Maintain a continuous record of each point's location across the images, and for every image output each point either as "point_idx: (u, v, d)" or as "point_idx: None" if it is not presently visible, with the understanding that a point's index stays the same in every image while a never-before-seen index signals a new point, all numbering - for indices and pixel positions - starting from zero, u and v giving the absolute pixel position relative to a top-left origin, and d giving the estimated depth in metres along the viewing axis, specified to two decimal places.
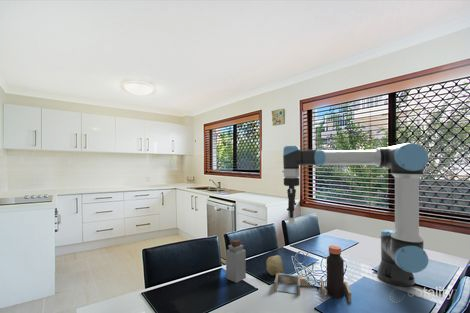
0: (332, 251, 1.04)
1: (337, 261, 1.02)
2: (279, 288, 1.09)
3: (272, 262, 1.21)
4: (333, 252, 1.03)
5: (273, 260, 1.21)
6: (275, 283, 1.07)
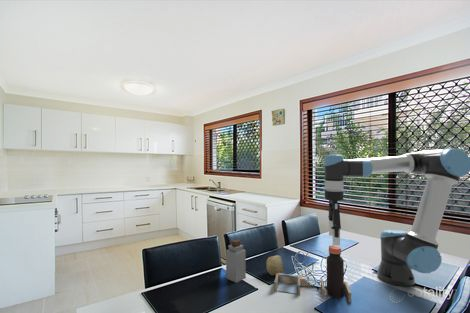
0: (332, 251, 1.04)
1: (337, 261, 1.02)
2: (279, 288, 1.09)
3: (272, 262, 1.21)
4: (333, 252, 1.03)
5: (273, 260, 1.21)
6: (275, 283, 1.07)
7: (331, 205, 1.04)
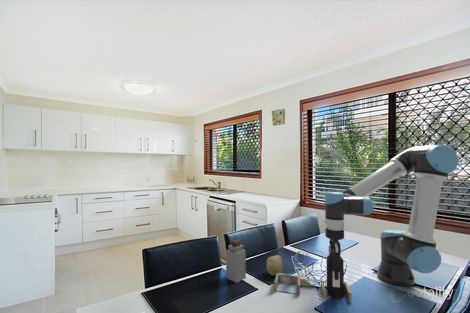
0: None
1: None
2: (279, 288, 1.09)
3: (272, 262, 1.21)
4: None
5: (273, 260, 1.21)
6: (275, 283, 1.07)
7: (332, 244, 1.04)
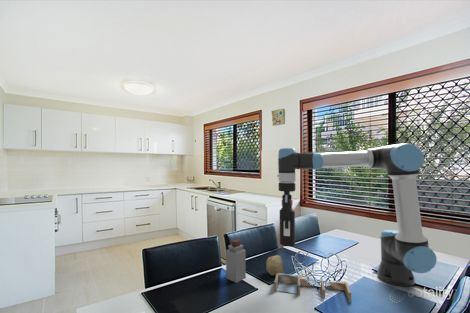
0: None
1: None
2: (279, 288, 1.09)
3: (272, 262, 1.21)
4: None
5: (273, 260, 1.21)
6: (275, 283, 1.07)
7: (283, 197, 1.10)
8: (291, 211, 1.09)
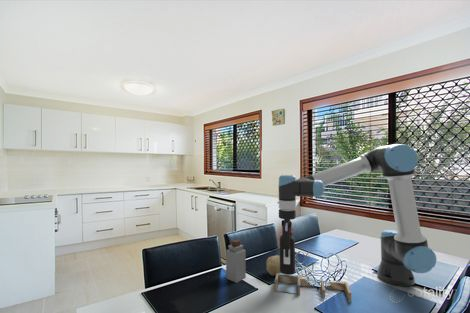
0: None
1: None
2: (279, 288, 1.09)
3: (272, 262, 1.21)
4: None
5: (273, 260, 1.21)
6: (275, 283, 1.07)
7: None
8: (291, 239, 1.08)
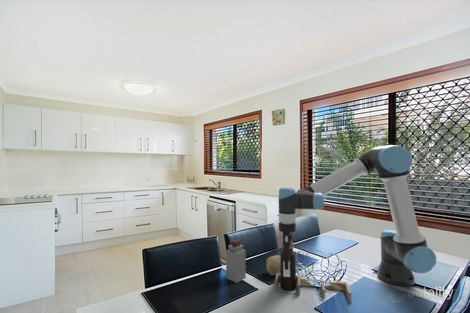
0: None
1: None
2: (279, 288, 1.09)
3: (272, 262, 1.21)
4: None
5: (273, 260, 1.21)
6: (275, 283, 1.07)
7: (284, 237, 1.09)
8: (292, 255, 1.08)
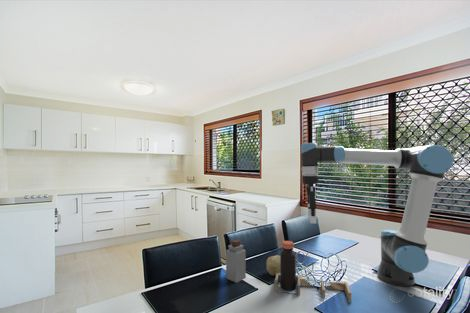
0: (284, 246, 1.09)
1: (288, 255, 1.08)
2: (279, 288, 1.09)
3: (272, 262, 1.21)
4: (285, 247, 1.09)
5: (273, 260, 1.21)
6: (275, 283, 1.07)
7: (308, 188, 1.16)
8: (292, 255, 1.08)
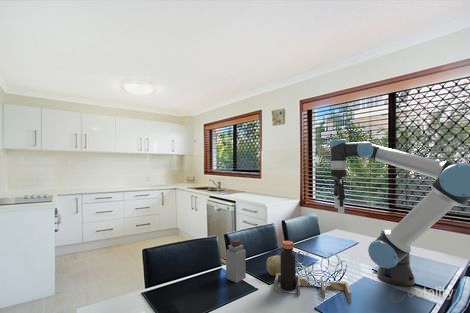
0: (284, 246, 1.09)
1: (288, 255, 1.08)
2: (279, 288, 1.09)
3: (272, 262, 1.21)
4: (285, 247, 1.09)
5: (273, 260, 1.21)
6: (275, 283, 1.07)
7: (336, 181, 1.25)
8: (292, 255, 1.08)
